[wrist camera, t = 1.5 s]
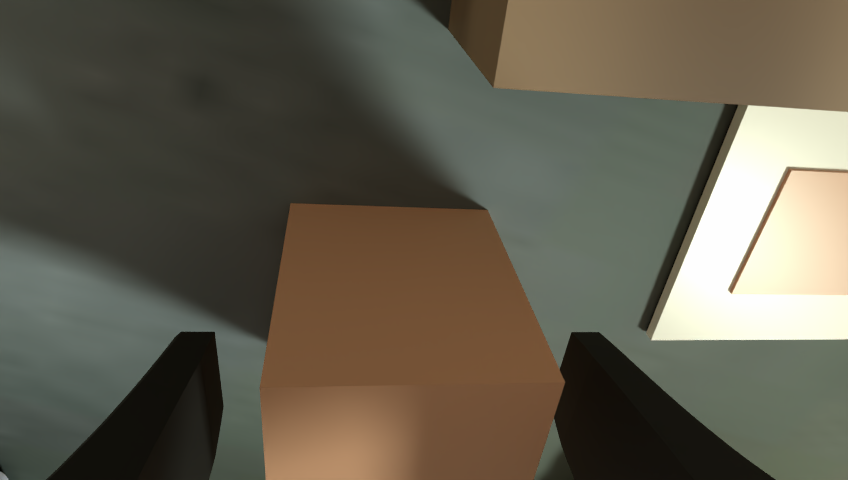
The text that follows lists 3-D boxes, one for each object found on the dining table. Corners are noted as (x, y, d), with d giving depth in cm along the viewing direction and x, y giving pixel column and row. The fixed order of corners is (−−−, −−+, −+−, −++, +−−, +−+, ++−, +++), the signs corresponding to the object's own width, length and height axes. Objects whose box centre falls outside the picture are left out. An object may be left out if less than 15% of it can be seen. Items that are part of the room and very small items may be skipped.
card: (646, 333, 16) (652, 342, 16) (745, 88, 12) (756, 93, 12) (859, 332, 17) (870, 341, 17) (1008, 107, 13) (1026, 113, 13)
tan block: (293, 352, 15) (271, 564, 10) (290, 202, 12) (259, 387, 8) (460, 351, 15) (510, 549, 11) (487, 208, 13) (565, 381, 9)
